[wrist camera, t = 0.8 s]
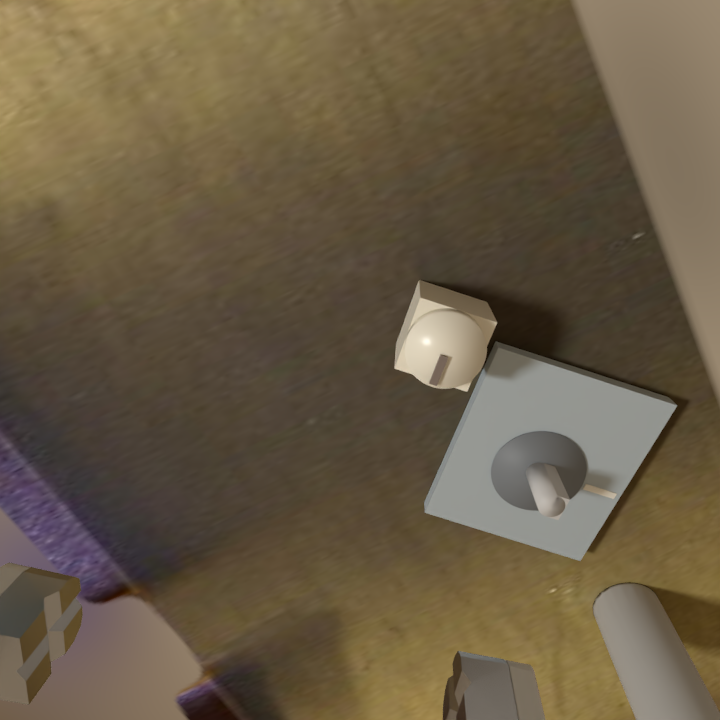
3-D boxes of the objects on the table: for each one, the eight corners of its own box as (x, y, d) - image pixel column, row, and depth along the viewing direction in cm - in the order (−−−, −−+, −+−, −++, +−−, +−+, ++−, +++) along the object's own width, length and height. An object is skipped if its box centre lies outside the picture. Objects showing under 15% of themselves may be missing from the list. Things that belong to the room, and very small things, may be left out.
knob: (419, 279, 44) (420, 303, 37) (487, 302, 44) (500, 329, 37) (396, 343, 46) (393, 376, 39) (460, 364, 46) (469, 400, 40)
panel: (495, 341, 45) (508, 371, 39) (668, 397, 46) (708, 435, 39) (424, 502, 52) (426, 549, 46) (575, 549, 52) (597, 602, 46)
